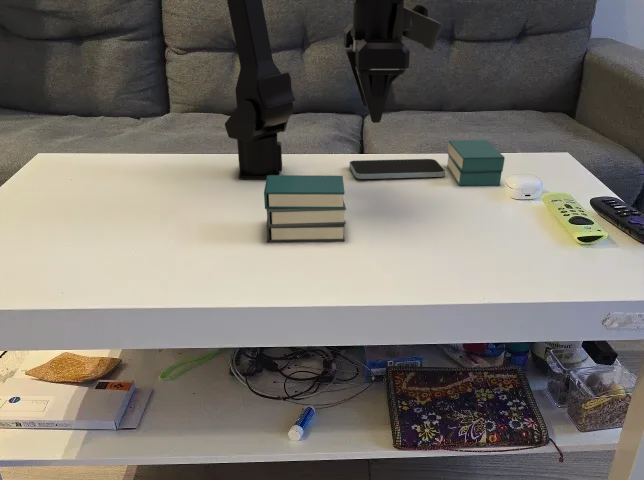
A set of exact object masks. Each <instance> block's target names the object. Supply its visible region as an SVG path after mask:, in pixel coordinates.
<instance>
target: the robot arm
mask: <svg viewBox="0 0 644 480" xmlns="http://www.w3.org/2000/svg"><path fill="white" fill-rule="evenodd" d="M226 2H227V8H228V13H229V17H230V21H231V26H232V32H233V37H234V41H235V47H236V51H237V57H238V60H239V68H240V70H239V73H238V78H237V82H236V85H235V99H236V101H235V102H236V108H235V109H234V110H233V111H232V113H231V115H230V116H229V117H228V118H227V120H226V121H225V122H224V127H225V131H226V133H227V134H226V135H227V136H228V138H229V139H233V140H236V141H237V157H238V174H237V178H238V179H240V180H253V179H254V180H257V179H258V180H259V179H263V180H264V179H265V180H266V179H267V175H280V173H281V172H282V171H283V156H282V155H283V154H282V153H283V152H282V151H283V150H282V142H281V141H278V134H279V133H284V132H286V130H287V127H288V126H287V125H288V121H289V120H290V117H291V116H292V114H293V113H294V102H295V101H296V97H295V96H294V92H293V88H292V77H291V75H290V72H288V71H287V72H283V73H282V72H281V70H280V69H279V68H278V67H277V65H276V63H275V61H274V58H273V54H272V53H273V52H272V47H271V42H270V36H269V32H268V26H267V21H266V15H265V10H264V5H263V4H264V3H263V0H226ZM352 2H353V3H352V6H353V7H352V22H351V23H349V24H348V26H347V27H346V28H344V30H343V46H344V48H345V49H344V51H345V54H346V57H347V60H348V64H349V66H350V69H351V72H352V76H353V78H354V81H355V85H356V89H357V91H358V94H359V98H360V100H361V103H362V105H363V107H367V111H368V114H369V117H370V121H371V122H372V123H373V124H375V123H376V124H377V123H378V124H379V123H380V122H381V121H382V117H383V114H384V111H385V107H386V103H387V100H388V97H389V93H390V90H391V86H392V84H393V83H394V81H395V80H396V79H398V78H399V77H400V76H401V75H404V74H405V73H406V70H407V69H409V67H410V55H411V51H410V50H409V48H407V46H406V45H405V44H404V42H403V37H404V38H407V39H409V40H411V41H414V42H416V43H419V44H421V45H423V47H424V48H426V49H428V50H431V51H432V50H434V48H435V45H436V42H437V41H438V37H439V36H440V33H441V30H442V28H443V26H444V24H442V23H441V22H439V21H437V20H436V19H434V18H431V17H429V8H428V7H427V6H425V5H422V4H420V3H419V2H415V3H413V5H412V6H410V8H409V7H406V6H404V4H405V0H352Z"/></svg>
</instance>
